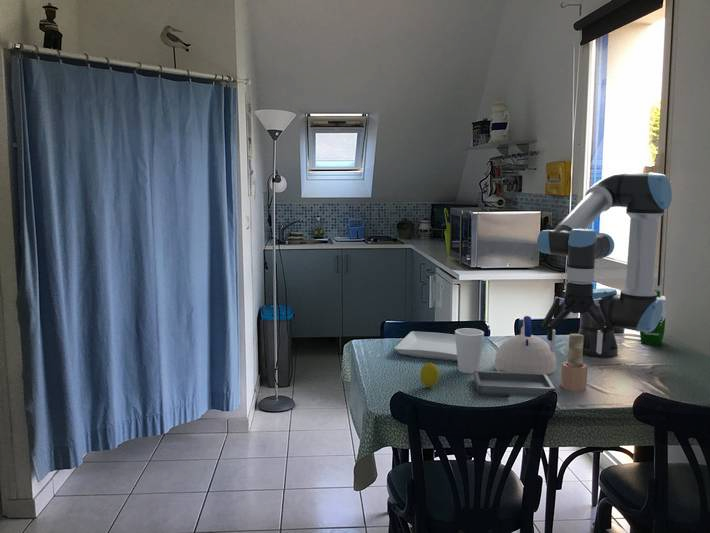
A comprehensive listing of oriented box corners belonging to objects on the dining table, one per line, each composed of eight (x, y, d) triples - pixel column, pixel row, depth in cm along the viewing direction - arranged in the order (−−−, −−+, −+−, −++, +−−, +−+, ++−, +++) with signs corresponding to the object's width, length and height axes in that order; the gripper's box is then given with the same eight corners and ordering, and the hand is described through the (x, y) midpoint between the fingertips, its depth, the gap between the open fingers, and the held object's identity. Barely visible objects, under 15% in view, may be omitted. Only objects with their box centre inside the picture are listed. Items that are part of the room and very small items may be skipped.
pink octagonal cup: (582, 386, 195) (583, 361, 194) (587, 394, 189) (589, 368, 187) (558, 386, 196) (560, 360, 195) (563, 393, 189) (565, 367, 188)
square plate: (470, 366, 217) (470, 355, 216) (392, 358, 225) (392, 347, 225) (481, 346, 242) (481, 336, 241) (411, 339, 251) (411, 329, 250)
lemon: (418, 385, 196) (419, 359, 195) (436, 384, 197) (437, 359, 195) (422, 391, 191) (422, 365, 189) (440, 390, 191) (441, 364, 190)
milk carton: (662, 340, 250) (666, 290, 247) (663, 346, 241) (668, 294, 238) (638, 338, 253) (641, 288, 250) (638, 344, 245) (642, 292, 242)
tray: (545, 382, 199) (545, 373, 198) (554, 398, 185) (555, 388, 185) (473, 380, 201) (474, 370, 201) (477, 395, 187) (478, 385, 187)
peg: (578, 385, 194) (581, 333, 192) (581, 389, 190) (585, 337, 188) (564, 384, 194) (568, 333, 192) (568, 389, 190) (571, 336, 188)
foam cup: (482, 375, 205) (483, 336, 204) (453, 373, 207) (454, 334, 205) (482, 366, 215) (484, 329, 213) (454, 365, 216) (455, 327, 215)
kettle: (554, 362, 221) (557, 311, 218) (559, 381, 201) (562, 325, 198) (494, 358, 225) (496, 308, 223) (493, 376, 205) (495, 321, 203)
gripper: (619, 280, 190) (614, 350, 193) (534, 278, 192) (530, 347, 195) (627, 285, 183) (622, 357, 186) (538, 282, 185) (534, 353, 188)
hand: (575, 352), depth 191 cm, fingers open, 13 cm apart
